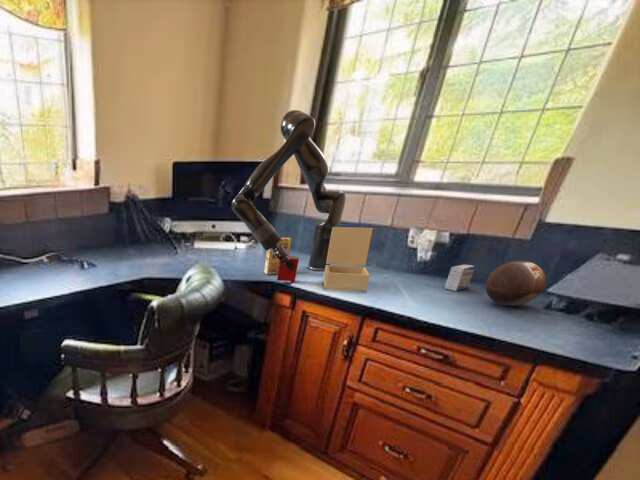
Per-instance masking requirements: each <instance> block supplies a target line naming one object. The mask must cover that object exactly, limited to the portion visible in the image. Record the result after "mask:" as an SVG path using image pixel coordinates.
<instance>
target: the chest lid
mask: <svg viewBox="0 0 640 480" xmlns="http://www.w3.org/2000/svg"><path fill="white" fill-rule="evenodd" d="M373 230H374V228H373V227H348V226H338V227H333V228H332V233H331V239H330V244H329V250H328V256H327V261H326V264H330V265H338V266H358V267H365V266H366V264H367V259H368V255H369V250H370V244H371V240H372V235H373Z"/></svg>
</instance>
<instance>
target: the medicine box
mask: <svg viewBox="0 0 640 480" xmlns="http://www.w3.org/2000/svg"><path fill="white" fill-rule="evenodd" d="M475 269H476V266H475V265H472V264H460V265H455V266H451V268H450V271H449V273H448V277H447V279H446V282H445V285H444V289H445V290H449V291H454V292H458V291H462V290H465V289H468V288H469V285H470V282H471V279H472V277H473V274H474V272H475Z"/></svg>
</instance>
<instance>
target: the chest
mask: <svg viewBox="0 0 640 480" xmlns="http://www.w3.org/2000/svg"><path fill="white" fill-rule="evenodd" d="M323 272H324V273H323V277H322V281H323V287H324V289H331V290H344V291H345V290H347V291H362V292H366V291H367V288H368V283H369V279H370V274H369V272H368V270H367V268H366V267H365V266H357V265H338V264H330V265H326V267H325V271H323Z"/></svg>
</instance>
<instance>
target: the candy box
mask: <svg viewBox="0 0 640 480" xmlns="http://www.w3.org/2000/svg"><path fill="white" fill-rule="evenodd" d="M278 243H279V245H280V244H282V246H283V247H284V249H285V250H286V251H287V253H288V254H289V255H290V250H291V249H290V248H291V243H292V238H290V237H281V240H280V241H279V242H278ZM279 265H280V260H279V259H278V258H277V257H276V256H275V255H274V253H273V249H272V248H271V249H269V250H267V251H266V255H265V261H264V272H263V273H264V274H266V275H278V271H279Z"/></svg>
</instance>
